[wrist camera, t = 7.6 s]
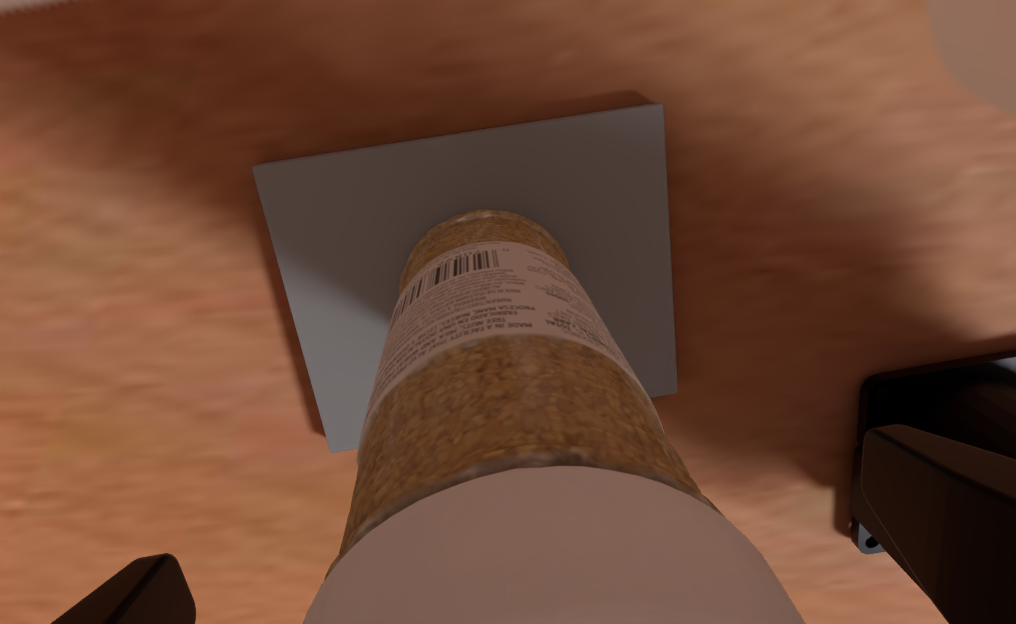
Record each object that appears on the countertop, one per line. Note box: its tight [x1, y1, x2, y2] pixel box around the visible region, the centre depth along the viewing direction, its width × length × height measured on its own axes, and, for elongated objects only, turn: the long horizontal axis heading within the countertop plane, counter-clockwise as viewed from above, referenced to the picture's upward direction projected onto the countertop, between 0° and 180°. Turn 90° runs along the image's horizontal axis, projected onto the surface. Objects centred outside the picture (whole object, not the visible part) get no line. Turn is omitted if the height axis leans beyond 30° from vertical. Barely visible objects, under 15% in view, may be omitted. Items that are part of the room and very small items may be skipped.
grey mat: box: [251, 103, 678, 453], centre depth 17 cm, size 10×8×1 cm
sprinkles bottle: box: [303, 209, 806, 624], centre depth 11 cm, size 5×5×14 cm
